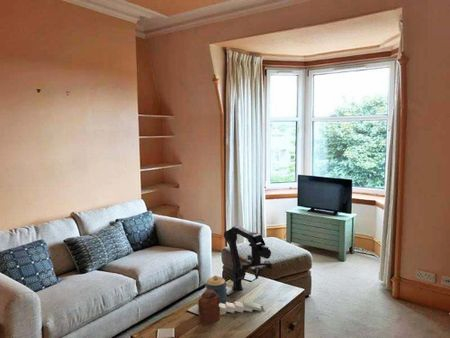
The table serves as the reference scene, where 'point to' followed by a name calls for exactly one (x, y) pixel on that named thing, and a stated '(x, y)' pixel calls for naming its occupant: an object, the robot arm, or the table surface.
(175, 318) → the table surface
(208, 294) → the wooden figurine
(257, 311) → the mat
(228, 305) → the domino
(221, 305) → the domino
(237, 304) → the domino
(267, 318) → the table surface
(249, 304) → the domino
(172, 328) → the table surface
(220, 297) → the canister
